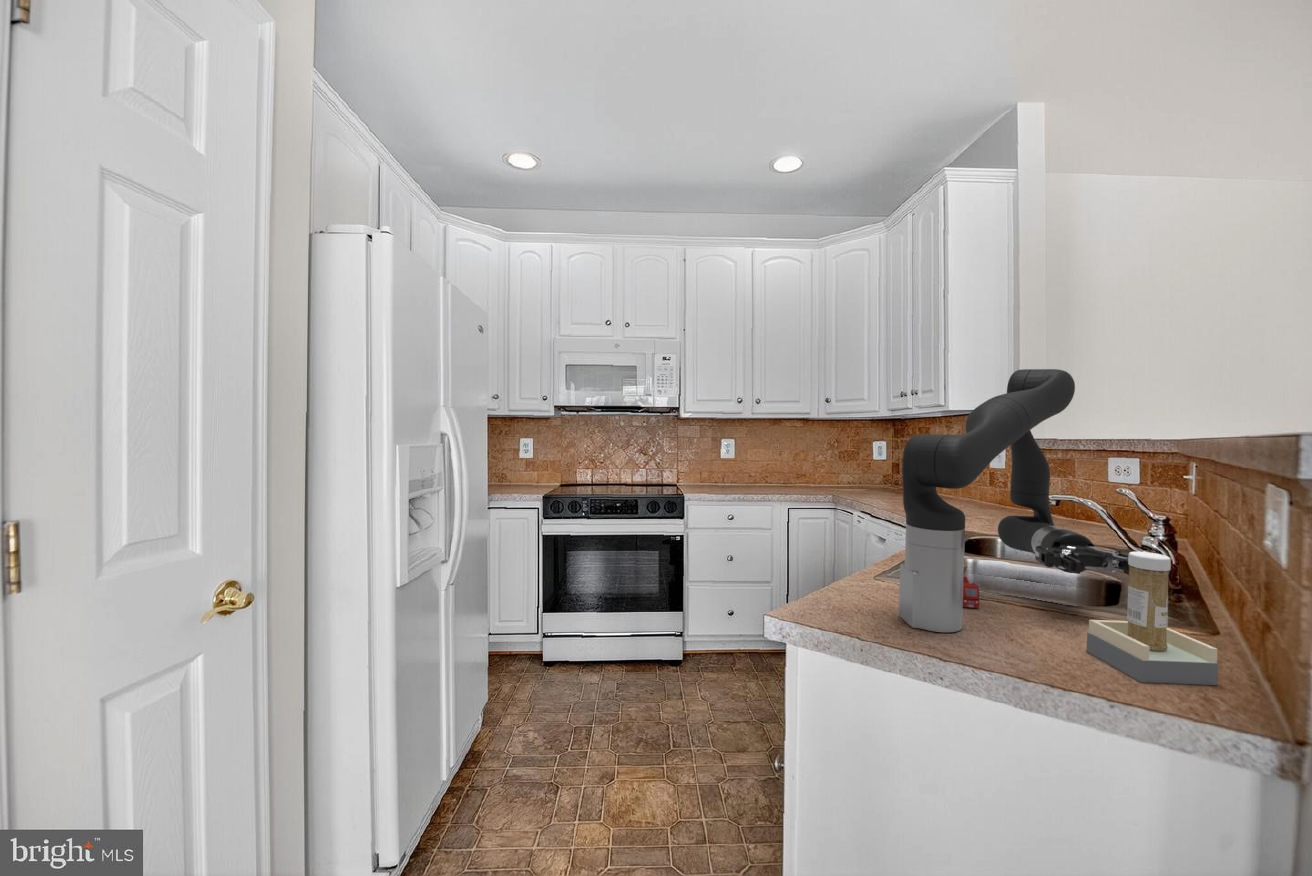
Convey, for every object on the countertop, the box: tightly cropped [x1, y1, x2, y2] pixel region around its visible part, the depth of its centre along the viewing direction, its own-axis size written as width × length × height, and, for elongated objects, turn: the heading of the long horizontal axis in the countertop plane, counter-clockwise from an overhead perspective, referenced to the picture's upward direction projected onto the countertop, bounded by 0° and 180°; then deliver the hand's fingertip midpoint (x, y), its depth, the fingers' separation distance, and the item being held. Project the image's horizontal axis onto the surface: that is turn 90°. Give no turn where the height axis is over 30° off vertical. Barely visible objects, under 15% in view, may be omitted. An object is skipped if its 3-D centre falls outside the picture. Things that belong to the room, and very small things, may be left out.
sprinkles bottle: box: [1126, 551, 1172, 651], centre depth 79 cm, size 5×5×13 cm
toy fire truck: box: [963, 558, 980, 609], centre depth 109 cm, size 3×14×10 cm, turn 168°
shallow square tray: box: [1086, 619, 1219, 686], centre depth 79 cm, size 10×10×5 cm
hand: (1108, 569), depth 89 cm, fingers open, 8 cm apart
